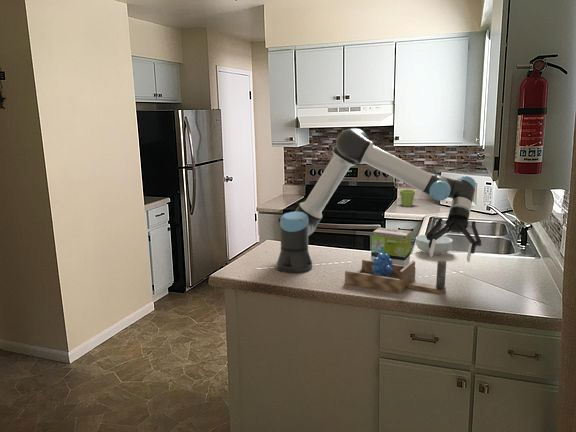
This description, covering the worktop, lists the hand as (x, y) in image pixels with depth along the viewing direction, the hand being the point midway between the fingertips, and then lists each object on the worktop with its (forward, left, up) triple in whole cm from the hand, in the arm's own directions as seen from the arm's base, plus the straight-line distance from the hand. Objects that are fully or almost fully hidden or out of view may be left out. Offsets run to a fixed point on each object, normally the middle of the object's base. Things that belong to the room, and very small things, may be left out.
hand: (449, 257), depth 183 cm
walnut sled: (-16, +9, -11) cm, 22 cm away
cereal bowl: (+24, +42, -12) cm, 50 cm away
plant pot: (+82, +155, -12) cm, 176 cm away
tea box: (-4, +34, -12) cm, 36 cm away
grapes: (-20, +13, -12) cm, 26 cm away
